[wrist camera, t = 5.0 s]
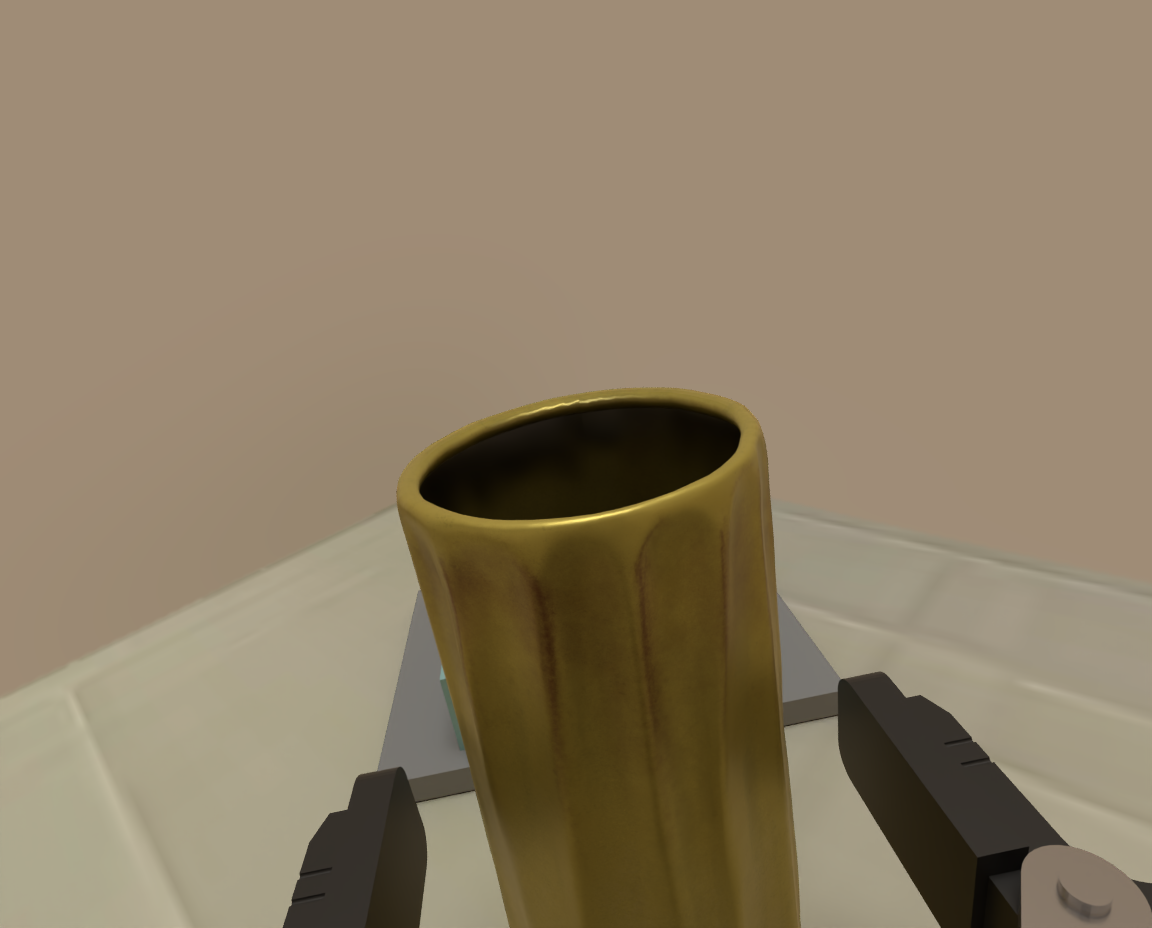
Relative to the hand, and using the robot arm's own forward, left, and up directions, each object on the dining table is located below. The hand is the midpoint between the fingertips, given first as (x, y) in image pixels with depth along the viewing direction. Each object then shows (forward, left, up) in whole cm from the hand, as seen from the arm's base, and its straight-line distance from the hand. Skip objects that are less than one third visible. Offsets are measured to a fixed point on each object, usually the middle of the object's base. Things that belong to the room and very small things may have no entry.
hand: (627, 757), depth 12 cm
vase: (0, 0, -8) cm, 8 cm away
